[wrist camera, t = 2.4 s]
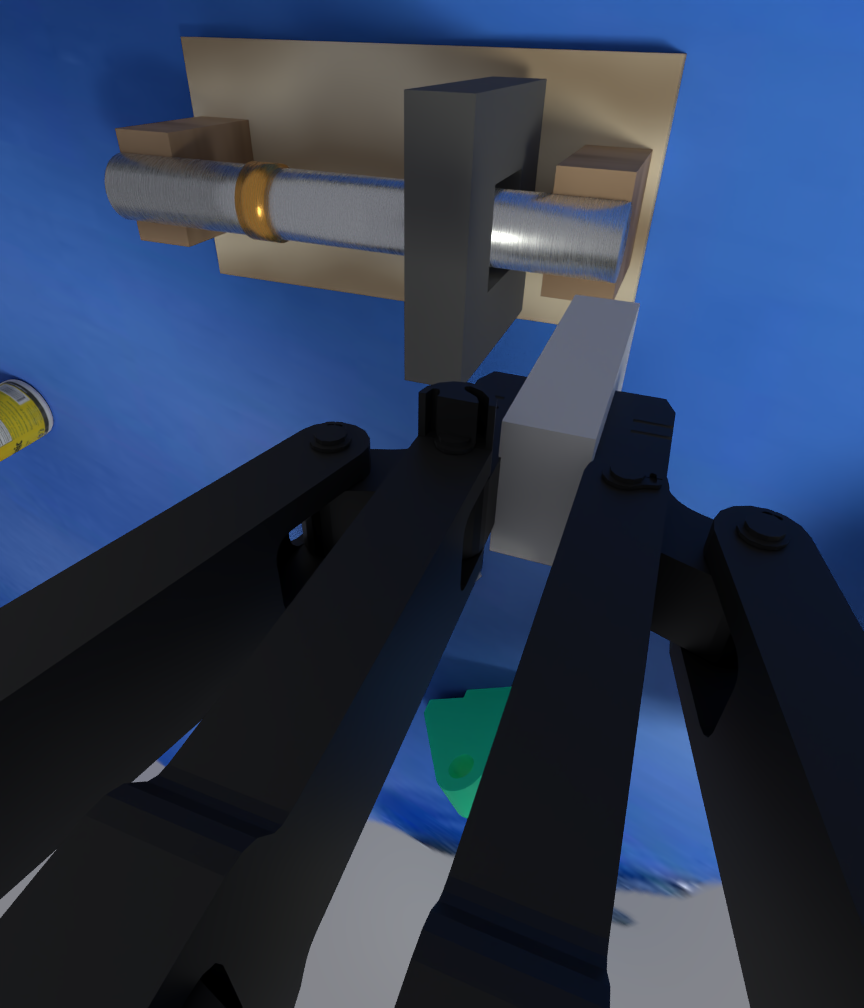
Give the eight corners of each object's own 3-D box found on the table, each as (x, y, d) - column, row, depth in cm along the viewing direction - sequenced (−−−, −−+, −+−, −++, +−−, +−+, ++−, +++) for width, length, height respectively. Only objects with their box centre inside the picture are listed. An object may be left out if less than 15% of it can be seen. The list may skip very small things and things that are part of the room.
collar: (522, 310, 33) (460, 390, 26) (477, 303, 34) (404, 379, 26) (547, 78, 27) (475, 93, 20) (492, 76, 28) (403, 89, 20)
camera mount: (469, 746, 62) (432, 847, 54) (434, 690, 59) (388, 789, 51) (588, 744, 56) (564, 859, 48) (554, 682, 53) (523, 793, 45)
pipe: (620, 274, 27) (609, 297, 25) (158, 215, 34) (113, 229, 31) (636, 189, 25) (626, 205, 23) (143, 144, 32) (93, 153, 29)
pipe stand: (629, 325, 35) (607, 385, 29) (234, 266, 41) (149, 305, 35) (686, 53, 28) (674, 57, 22) (198, 37, 34) (84, 36, 28)
